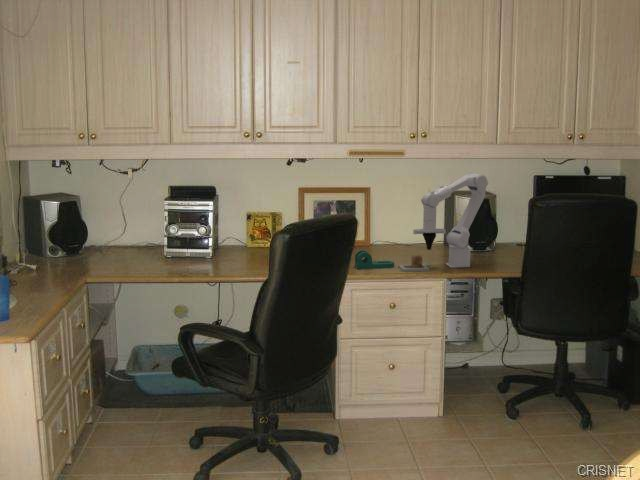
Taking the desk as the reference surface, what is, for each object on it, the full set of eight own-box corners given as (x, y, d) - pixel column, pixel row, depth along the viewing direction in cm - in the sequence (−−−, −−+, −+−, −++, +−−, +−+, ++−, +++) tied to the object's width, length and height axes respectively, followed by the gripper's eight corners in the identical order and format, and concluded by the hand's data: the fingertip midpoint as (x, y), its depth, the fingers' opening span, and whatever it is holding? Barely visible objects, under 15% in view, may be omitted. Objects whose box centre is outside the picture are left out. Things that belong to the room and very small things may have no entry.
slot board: (423, 266, 323) (423, 264, 323) (428, 271, 314) (429, 268, 314) (398, 267, 322) (398, 264, 322) (402, 271, 313) (403, 269, 313)
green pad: (428, 263, 330) (428, 262, 330) (431, 266, 324) (431, 265, 324) (416, 263, 329) (416, 262, 329) (419, 266, 323) (419, 265, 323)
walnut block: (419, 268, 320) (420, 255, 319) (422, 270, 317) (422, 257, 315) (411, 268, 320) (411, 255, 319) (413, 270, 316) (413, 257, 315)
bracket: (357, 269, 318) (357, 252, 317) (354, 266, 325) (354, 250, 324) (395, 268, 321) (396, 251, 320) (392, 265, 328) (392, 248, 326)
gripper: (442, 218, 319) (441, 247, 322) (411, 218, 318) (411, 247, 320) (447, 220, 312) (446, 250, 315) (415, 221, 311) (415, 251, 313)
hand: (428, 249), depth 317 cm, fingers closed
